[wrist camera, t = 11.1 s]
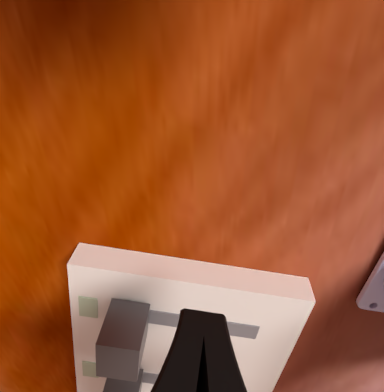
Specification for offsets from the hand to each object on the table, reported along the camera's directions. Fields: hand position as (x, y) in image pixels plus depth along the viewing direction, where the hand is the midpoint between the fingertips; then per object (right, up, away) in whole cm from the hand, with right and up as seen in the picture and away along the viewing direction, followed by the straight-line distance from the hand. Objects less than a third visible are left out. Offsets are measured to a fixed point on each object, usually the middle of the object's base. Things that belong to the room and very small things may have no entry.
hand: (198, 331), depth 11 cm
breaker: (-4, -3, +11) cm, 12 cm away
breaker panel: (-2, -9, +16) cm, 19 cm away
